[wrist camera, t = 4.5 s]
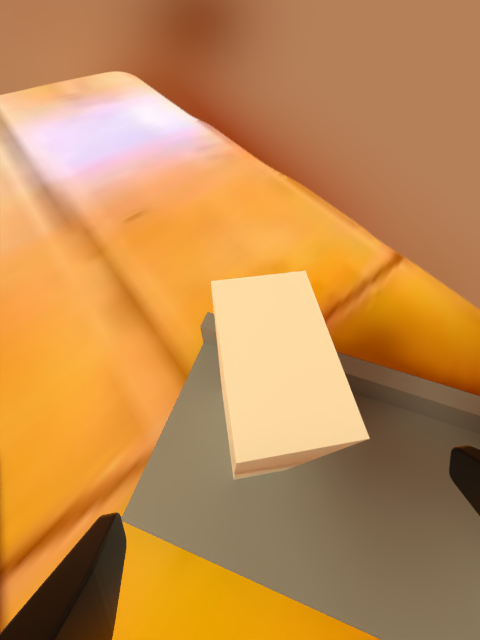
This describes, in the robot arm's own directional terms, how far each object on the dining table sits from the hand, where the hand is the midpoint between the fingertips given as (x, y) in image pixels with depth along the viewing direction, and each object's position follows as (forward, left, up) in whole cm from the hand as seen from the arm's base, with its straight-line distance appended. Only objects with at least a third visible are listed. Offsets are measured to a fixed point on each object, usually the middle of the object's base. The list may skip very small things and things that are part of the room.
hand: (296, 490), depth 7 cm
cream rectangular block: (+3, +2, -9) cm, 10 cm away
